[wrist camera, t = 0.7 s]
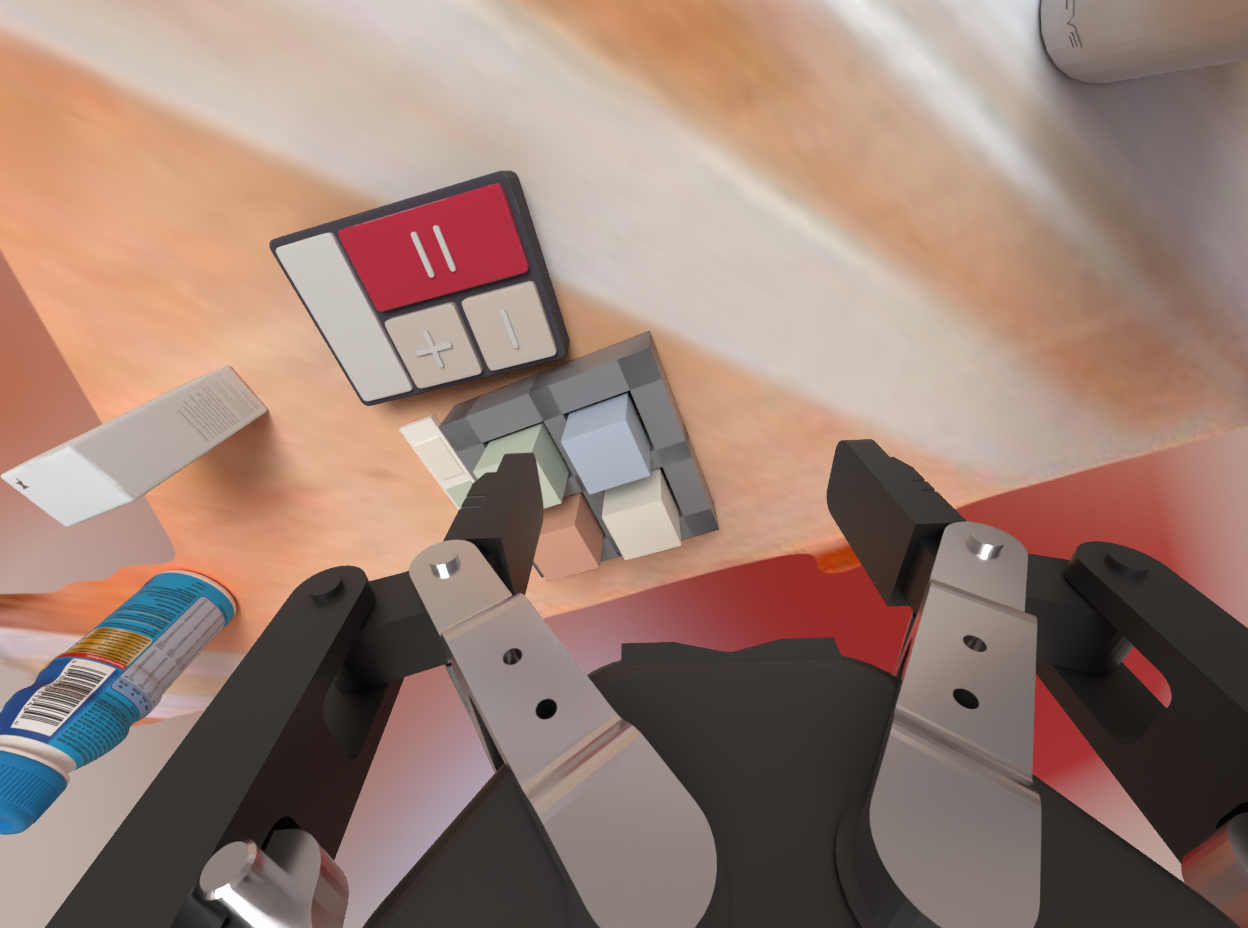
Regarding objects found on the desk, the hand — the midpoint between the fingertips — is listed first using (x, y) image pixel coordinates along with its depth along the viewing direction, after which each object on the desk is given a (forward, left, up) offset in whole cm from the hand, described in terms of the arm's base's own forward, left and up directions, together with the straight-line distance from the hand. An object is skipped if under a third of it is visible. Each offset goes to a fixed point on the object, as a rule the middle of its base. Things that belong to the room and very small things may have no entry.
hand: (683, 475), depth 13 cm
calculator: (+14, -5, -23) cm, 27 cm away
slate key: (+6, +7, -19) cm, 21 cm away
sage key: (+13, +7, -19) cm, 24 cm away
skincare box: (+35, -5, -22) cm, 41 cm away
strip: (+21, +10, -22) cm, 32 cm away
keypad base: (+10, +10, -22) cm, 26 cm away
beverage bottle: (+56, +11, -22) cm, 61 cm away
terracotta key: (+13, +14, -19) cm, 27 cm away
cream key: (+6, +14, -19) cm, 24 cm away
